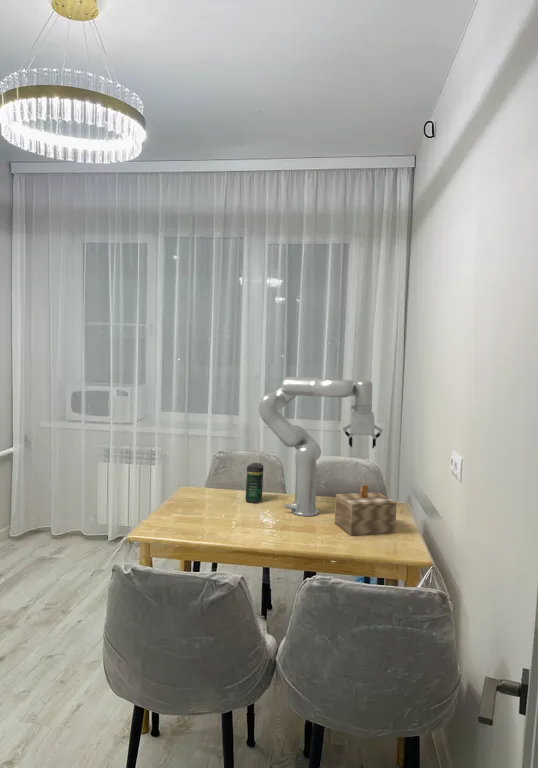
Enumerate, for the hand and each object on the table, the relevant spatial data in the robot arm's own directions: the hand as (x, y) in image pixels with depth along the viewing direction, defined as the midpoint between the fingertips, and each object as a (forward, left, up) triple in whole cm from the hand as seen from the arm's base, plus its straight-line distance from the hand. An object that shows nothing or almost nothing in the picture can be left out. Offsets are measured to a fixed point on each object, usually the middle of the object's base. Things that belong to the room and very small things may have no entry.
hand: (362, 447), depth 231 cm
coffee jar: (-39, +37, -32) cm, 62 cm away
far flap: (-4, -8, -20) cm, 22 cm away
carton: (-4, -12, -32) cm, 35 cm away
